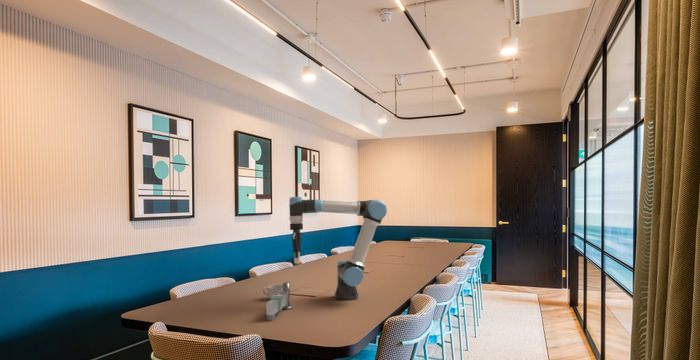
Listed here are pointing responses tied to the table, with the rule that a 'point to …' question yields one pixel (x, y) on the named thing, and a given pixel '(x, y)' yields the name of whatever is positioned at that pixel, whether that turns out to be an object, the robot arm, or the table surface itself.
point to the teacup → (273, 290)
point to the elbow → (283, 298)
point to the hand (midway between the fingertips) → (297, 263)
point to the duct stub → (273, 307)
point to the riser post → (287, 288)
